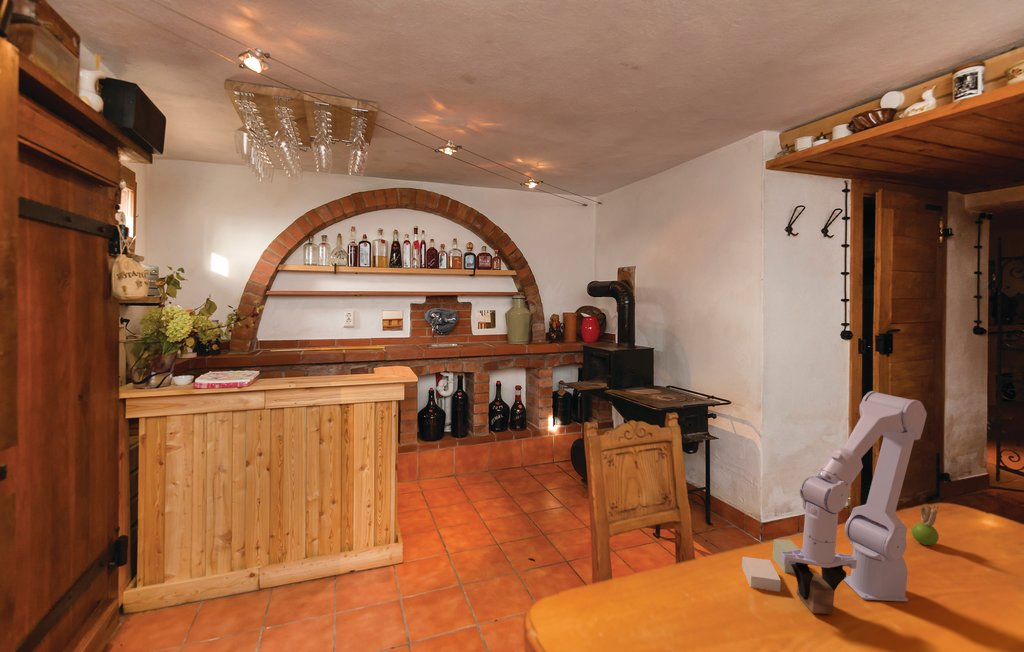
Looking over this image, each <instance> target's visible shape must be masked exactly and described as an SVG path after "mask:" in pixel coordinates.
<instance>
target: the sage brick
mask: <svg viewBox="0 0 1024 652" xmlns="http://www.w3.org/2000/svg"><path fill="white" fill-rule="evenodd" d="M798 549H800V548H799V547H798V546H797V545H796V544H795V543H794V542H793V541H792V540H791V539H777V538H774V539H773V546H772V559H773V560H774V562H775V563H776V564H777V565H778V567H779V568H780V570H782V572H784V573H785V574H795V573H794V570H793V568H792V566H791V564H789V565H788V566H787V565H784V564H783V563H782V562H781V561H780V552H787V551H793V550H798Z"/></svg>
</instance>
